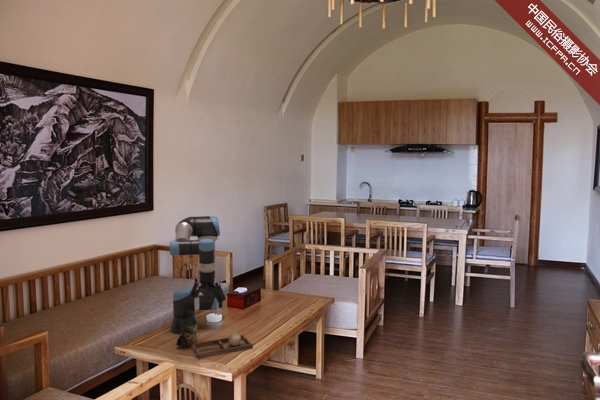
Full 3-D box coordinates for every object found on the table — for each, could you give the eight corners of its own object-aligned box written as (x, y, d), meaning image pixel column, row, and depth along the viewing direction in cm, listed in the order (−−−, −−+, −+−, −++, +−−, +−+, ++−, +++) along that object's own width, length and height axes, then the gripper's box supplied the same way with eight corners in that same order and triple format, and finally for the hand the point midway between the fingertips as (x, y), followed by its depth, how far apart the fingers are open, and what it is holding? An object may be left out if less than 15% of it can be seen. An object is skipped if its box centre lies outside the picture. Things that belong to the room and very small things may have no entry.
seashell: (174, 342, 256) (174, 324, 255) (196, 339, 260) (196, 321, 259) (176, 350, 246) (176, 331, 245) (199, 347, 250) (199, 328, 249)
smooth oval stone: (226, 344, 251) (226, 332, 251) (238, 342, 254) (238, 329, 254) (230, 349, 245) (230, 336, 245) (243, 346, 248) (242, 334, 248)
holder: (191, 349, 247) (191, 344, 247) (243, 339, 259) (243, 334, 259) (199, 360, 235) (199, 354, 234) (252, 349, 247) (252, 344, 246)
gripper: (182, 269, 244) (183, 310, 246) (223, 275, 233) (224, 318, 235) (191, 265, 250) (192, 305, 253) (232, 271, 239) (233, 313, 242)
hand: (208, 312), depth 244 cm, fingers open, 13 cm apart
